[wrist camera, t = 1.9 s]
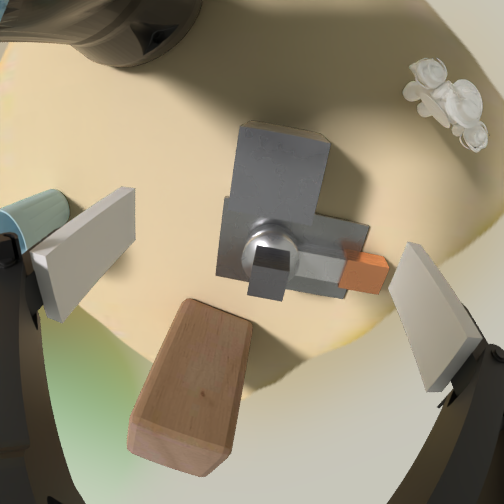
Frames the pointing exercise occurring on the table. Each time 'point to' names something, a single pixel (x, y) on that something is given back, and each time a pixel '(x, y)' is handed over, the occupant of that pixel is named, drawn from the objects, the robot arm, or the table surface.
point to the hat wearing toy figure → (448, 102)
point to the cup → (35, 217)
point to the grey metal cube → (278, 172)
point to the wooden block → (193, 391)
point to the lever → (297, 255)
